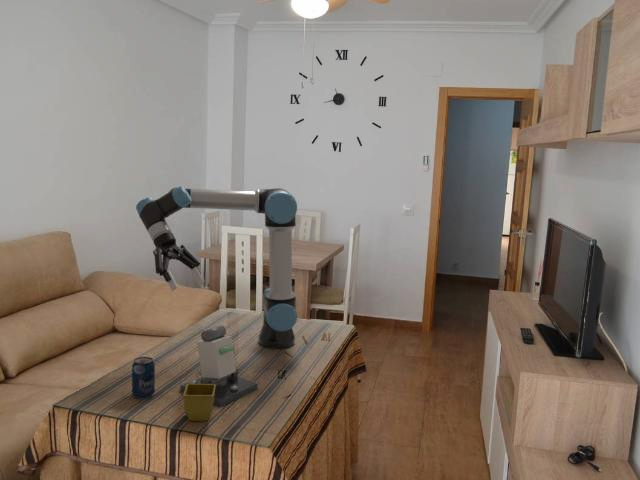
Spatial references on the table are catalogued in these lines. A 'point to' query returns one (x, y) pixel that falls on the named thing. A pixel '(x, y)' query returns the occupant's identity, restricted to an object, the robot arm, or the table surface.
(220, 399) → the levelling base
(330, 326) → the table surface
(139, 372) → the soda can
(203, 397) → the flower pot
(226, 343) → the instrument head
